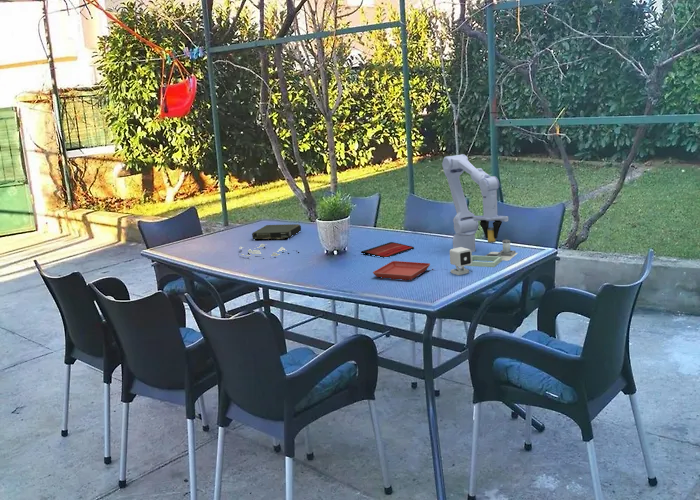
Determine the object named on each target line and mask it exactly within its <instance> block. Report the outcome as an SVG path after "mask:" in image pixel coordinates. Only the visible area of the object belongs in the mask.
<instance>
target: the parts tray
mask: <svg viewBox="0 0 700 500" xmlns="http://www.w3.org/2000/svg"><path fill="white" fill-rule="evenodd" d="M502 262H503V260H502V257H497V256H486V255H473V254H472V264H471V265H468V266H467V267H479V268H480V267H481V268H482V267H484V268H495V267H497V266H498V265H499V264H500V263H502Z"/></svg>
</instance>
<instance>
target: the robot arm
mask: <svg viewBox="0 0 700 500" xmlns="http://www.w3.org/2000/svg"><path fill="white" fill-rule="evenodd" d="M441 165H442V166H441V167H442V169H443V172H444V177H446V179H447V182H448V187H449V191H450V195H451V198H452V201H453V206H454V209H455V211H456V214H455V216H454V217H453V219H452V220H453V230H454V232H455V234H453V237H452V249H454V248H459V247H463V248H467V249H470V250H471V251H472V253H474V252H476V234H477V231H478V230H479V225H480V227H481V229H482V231H483V234H484V237H485V239H488V234H487V228H490V227H489V223H490V222H492V227H494V239H498V237H499V236H498V235H499V231H500V227H501V225H502V224H503V222H505V223H507V222H509V216H506V215H498V193H497V191H498V190H499V188H500V181H499V179H498V177H497V176H496V175H494V176H491V175H490V174H489V173H487V172H486V171H484V169H483V168H482V167H480V168H479V167H478V168H477V167H475V166H474V165H473V164H472V163H471V162H470V161H469V158H468V156H467V155H465V154H464V153H461V154H457V155H446V156H444V158H443V159H442V164H441ZM464 172H465V173H467V174H469V175H470V179H471V180H472V181H473V182H474V183H476V184H477V185H478V186H479V187H478V188H479V189H480V193H481V196H482V206H483V208H482V210H483V215H475V213H473V212H471V211H470V210H469V207H468V203H467V200H466V197H465V193H464V189H463V187H462V183H461V180H460V176H461V175H462V174H463V173H464Z"/></svg>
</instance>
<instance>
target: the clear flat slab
mask: <svg viewBox="0 0 700 500" xmlns="http://www.w3.org/2000/svg"><path fill="white" fill-rule="evenodd" d="M259 245H260V246H259V247H257V248H260V247H264V246H265V245H266V244H264V243H260V244H259ZM242 248H244V247H242V246H239V248H238V250H239V249H242ZM282 250H284V251H287V250H286V248H285V247H283V246H281V247H280V248H279V249H277V251H276V252H279V251H282ZM248 252H249V253H252V254H262V252H261V250H253V251H252V250H251V249H249V250H248ZM276 252H274V251H273V252H272V254H270V255H271V256H278V255H280V254H277V253H276ZM282 252H283V251H282ZM241 255H244V254H241ZM245 256H251V255H249V254H248V255H245Z"/></svg>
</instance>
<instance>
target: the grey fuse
mask: <svg viewBox="0 0 700 500" xmlns="http://www.w3.org/2000/svg"><path fill="white" fill-rule="evenodd" d="M501 242H502V250H503V253H511V251H510V250H511V240H510V239H503V240H502V241H501Z"/></svg>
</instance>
